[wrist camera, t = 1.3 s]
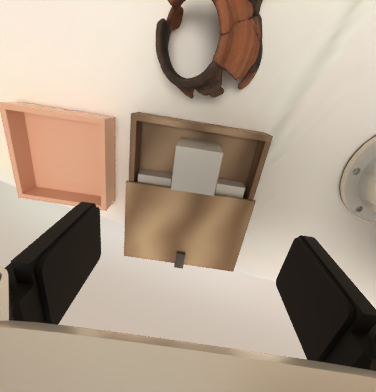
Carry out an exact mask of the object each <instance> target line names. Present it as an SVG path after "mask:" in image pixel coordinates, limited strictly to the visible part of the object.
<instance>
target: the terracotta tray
mask: <svg viewBox="0 0 376 392" xmlns="http://www.w3.org/2000/svg"><path fill="white" fill-rule="evenodd" d="M0 112H1V117H2V122H3V126H4V131H5V136H6V141H7V145H8V150H9V155H10V160H11V164H12V169H13V174H14V179H15V183H16V188H17V193H18V197H19V198H26V199H32V200H39V201H46V202H52V203H59V204H65V205H72V206H77V205H78V204H79V203H80V202H89V203H95V204H96V207H99V209H100V210H105V211H106V210H107V209H108V208H109V207H110V205H111V204H112V203H113V202H114V201H115V117H110V116H104V115H97V114H91V113H85V112H79V111H73V110H66V109H60V108H54V107H48V106H42V105H35V104H29V103H23V102H0Z"/></svg>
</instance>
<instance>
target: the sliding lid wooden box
mask: <svg viewBox="0 0 376 392" xmlns="http://www.w3.org/2000/svg"><path fill="white" fill-rule="evenodd" d="M181 136H183V137H190V138H196V139H202V140H208V141H215V142H218V144H219V146H220V148H221V149H222V151H223V157H222V161H221V166H220V170H219V175H218V179H225V180H231V181H238V182H242V183H243V185H244V186H245V191H244V195H243V198H237V197H230V196H224V195H217V194H214V196H211V195H204V194H198V193H191V192H185V191H178V190H172V189H171V187H165V186H159V185H152V184H146V183H140V182H138V173H139V172H140V171H141V170H142V169H149V170H155V171H162V172H168V173H173V167H174V159H175V151H176V145H177V143H178V141H179V139H180V137H181ZM272 137H273V136H270V135H268V134H266V133H263V132H257V131H251V130H245V129H238V128H232V127H226V126H220V125H214V124H208V123H202V122H195V121H189V120H183V119H177V118H171V117H165V116H159V115H152V114H146V113H140V112H137V113H132V114H131V130H130V160H129V181H126V205H125V242H124V256H130V257H137V258H144V259H152V260H158V261H165V262H172V263H175V266H174V267H177V268H183V264H185V265H192V266H199V267H206V268H213V269H220V270H227V271H234V267H235V264H236V261H237V258H238V255H239V252H240V249H241V245H242V242H243V239H244V236H245V233H246V230H247V227H248V223H249V220H250V217H251V214H252V211H253V208H254V205H255V200H253V198H254V195H255V192H256V189H257V185H258V182H259V179H260V176H261V173H262V169H263V166H264V163H265V160H266V157H267V153H268V150H269V147H270V144H271V140H272Z"/></svg>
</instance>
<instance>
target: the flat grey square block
mask: <svg viewBox="0 0 376 392" xmlns="http://www.w3.org/2000/svg"><path fill="white" fill-rule="evenodd" d="M172 175H173V173H168V172H162V171H155V170H149V169H142V170H141V171H140V172H139V173H138V182H140V183H146V184H152V185H159V186H165V187H171V183H172Z"/></svg>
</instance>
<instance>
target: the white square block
mask: <svg viewBox="0 0 376 392" xmlns="http://www.w3.org/2000/svg"><path fill="white" fill-rule="evenodd" d="M244 191H245V186H244V185H243V183H242V182H238V181H231V180H225V179H217V184H216V188H215V193H214V194H217V195H224V196H230V197H237V198H243V195H244Z"/></svg>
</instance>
